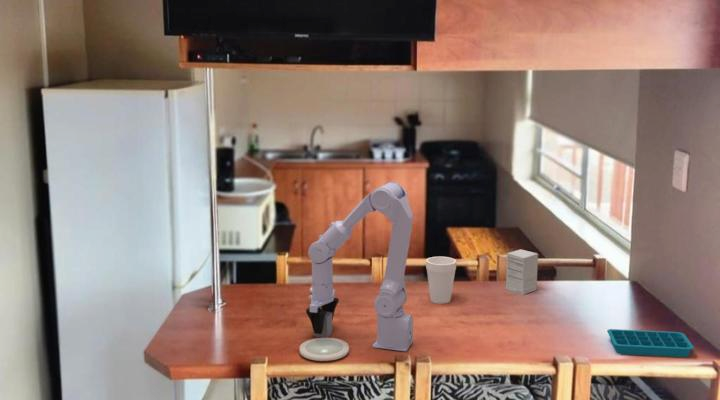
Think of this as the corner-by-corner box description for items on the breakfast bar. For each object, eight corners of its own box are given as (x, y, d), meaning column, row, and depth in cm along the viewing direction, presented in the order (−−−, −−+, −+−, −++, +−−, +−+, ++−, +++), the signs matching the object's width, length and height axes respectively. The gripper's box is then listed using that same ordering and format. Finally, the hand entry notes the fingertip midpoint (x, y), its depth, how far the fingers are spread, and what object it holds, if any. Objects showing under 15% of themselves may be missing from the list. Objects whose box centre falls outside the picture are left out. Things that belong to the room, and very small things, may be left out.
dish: (355, 346, 208) (355, 340, 207) (338, 365, 196) (338, 359, 195) (310, 340, 212) (310, 334, 211) (291, 359, 200) (291, 353, 199)
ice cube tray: (605, 339, 213) (606, 328, 213) (681, 342, 211) (682, 332, 210) (613, 356, 202) (614, 345, 201) (694, 360, 199) (695, 349, 199)
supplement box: (519, 285, 258) (520, 248, 256) (537, 290, 253) (538, 253, 250) (504, 289, 254) (506, 252, 251) (522, 295, 248) (524, 257, 246)
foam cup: (425, 295, 249) (425, 256, 246) (453, 295, 248) (454, 256, 245) (426, 305, 239) (427, 265, 237) (456, 305, 239) (457, 265, 236)
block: (332, 332, 218) (332, 312, 216) (327, 337, 214) (327, 317, 213) (319, 330, 219) (318, 310, 218) (313, 336, 215) (313, 315, 214)
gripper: (318, 273, 221) (319, 317, 224) (298, 288, 208) (299, 336, 210) (341, 275, 219) (342, 320, 222) (323, 291, 205) (323, 339, 208)
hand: (323, 328), depth 216 cm, fingers open, 7 cm apart
